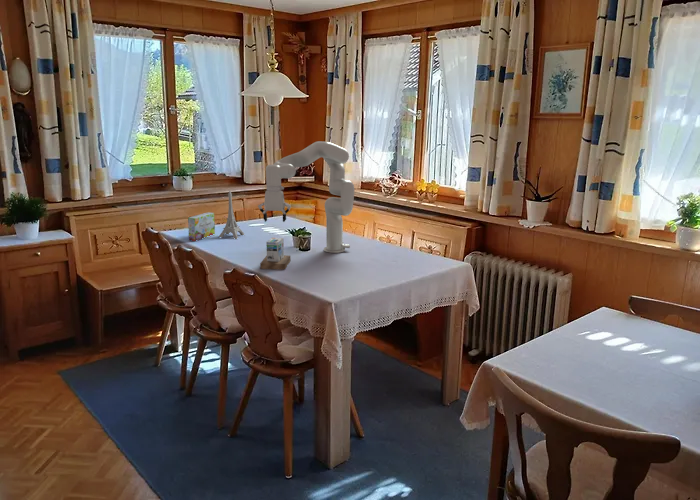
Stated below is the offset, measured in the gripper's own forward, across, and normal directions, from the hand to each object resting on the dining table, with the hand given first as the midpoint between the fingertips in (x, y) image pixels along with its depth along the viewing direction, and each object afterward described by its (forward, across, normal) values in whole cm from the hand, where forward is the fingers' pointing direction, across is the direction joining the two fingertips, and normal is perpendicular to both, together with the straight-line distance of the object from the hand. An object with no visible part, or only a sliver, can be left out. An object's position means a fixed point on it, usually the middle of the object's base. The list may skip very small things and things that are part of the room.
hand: (274, 221), depth 293 cm
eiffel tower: (+24, +42, -63) cm, 80 cm away
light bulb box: (+21, 0, 0) cm, 21 cm away
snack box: (+24, +59, -58) cm, 86 cm away
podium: (+24, 0, 0) cm, 24 cm away
